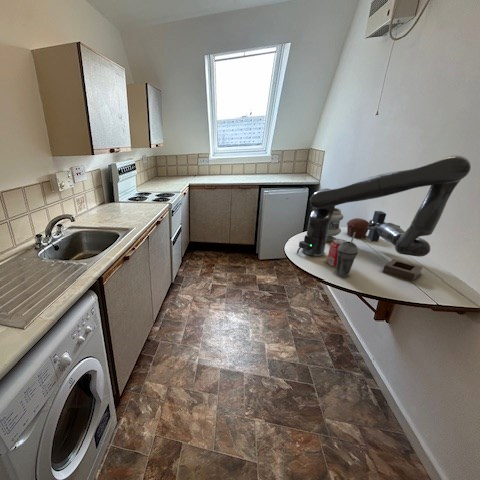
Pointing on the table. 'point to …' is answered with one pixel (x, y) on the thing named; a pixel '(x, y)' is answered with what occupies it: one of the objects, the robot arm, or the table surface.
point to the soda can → (334, 252)
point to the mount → (402, 269)
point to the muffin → (357, 227)
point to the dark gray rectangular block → (379, 218)
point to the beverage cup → (346, 257)
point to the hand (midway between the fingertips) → (374, 221)
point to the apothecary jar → (334, 225)
